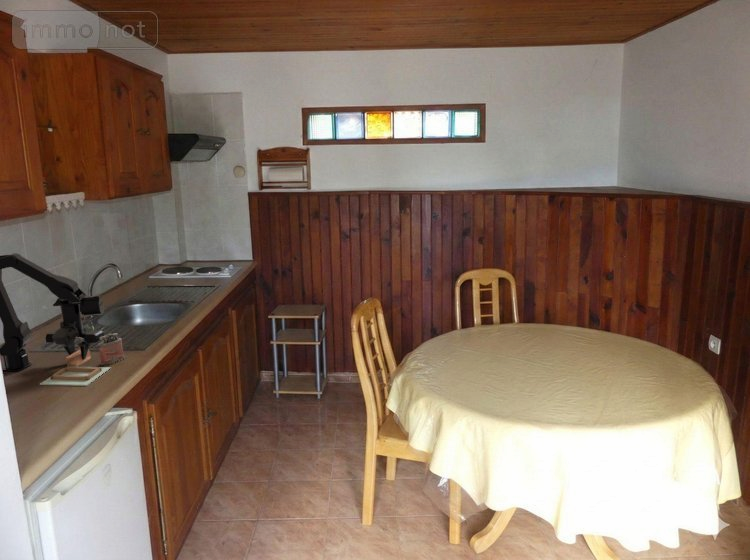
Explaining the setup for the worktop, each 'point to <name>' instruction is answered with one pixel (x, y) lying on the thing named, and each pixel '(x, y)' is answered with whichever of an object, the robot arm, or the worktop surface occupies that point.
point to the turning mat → (75, 376)
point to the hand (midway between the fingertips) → (78, 359)
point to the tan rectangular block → (77, 359)
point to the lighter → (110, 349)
